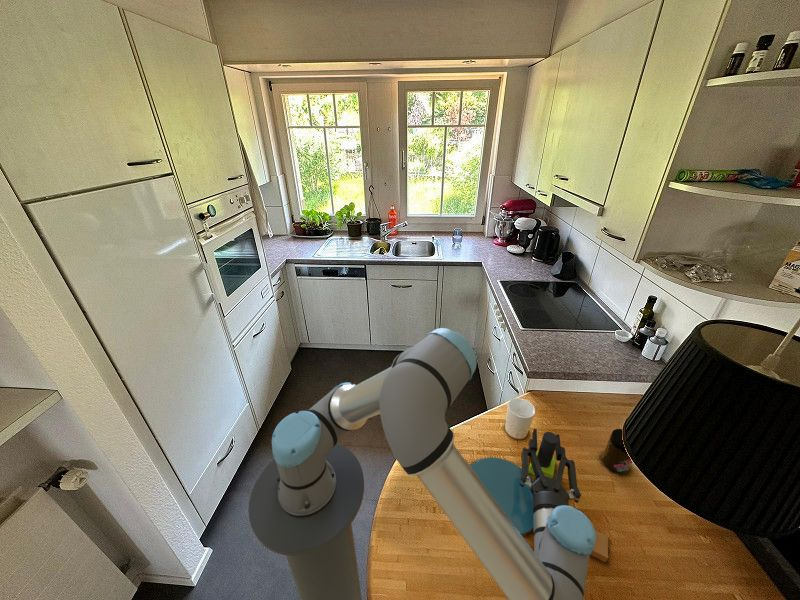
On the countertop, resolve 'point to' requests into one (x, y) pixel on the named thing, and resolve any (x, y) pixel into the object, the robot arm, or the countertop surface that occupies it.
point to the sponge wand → (546, 454)
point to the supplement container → (616, 453)
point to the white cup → (519, 417)
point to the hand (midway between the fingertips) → (545, 435)
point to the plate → (507, 490)
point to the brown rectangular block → (600, 547)
